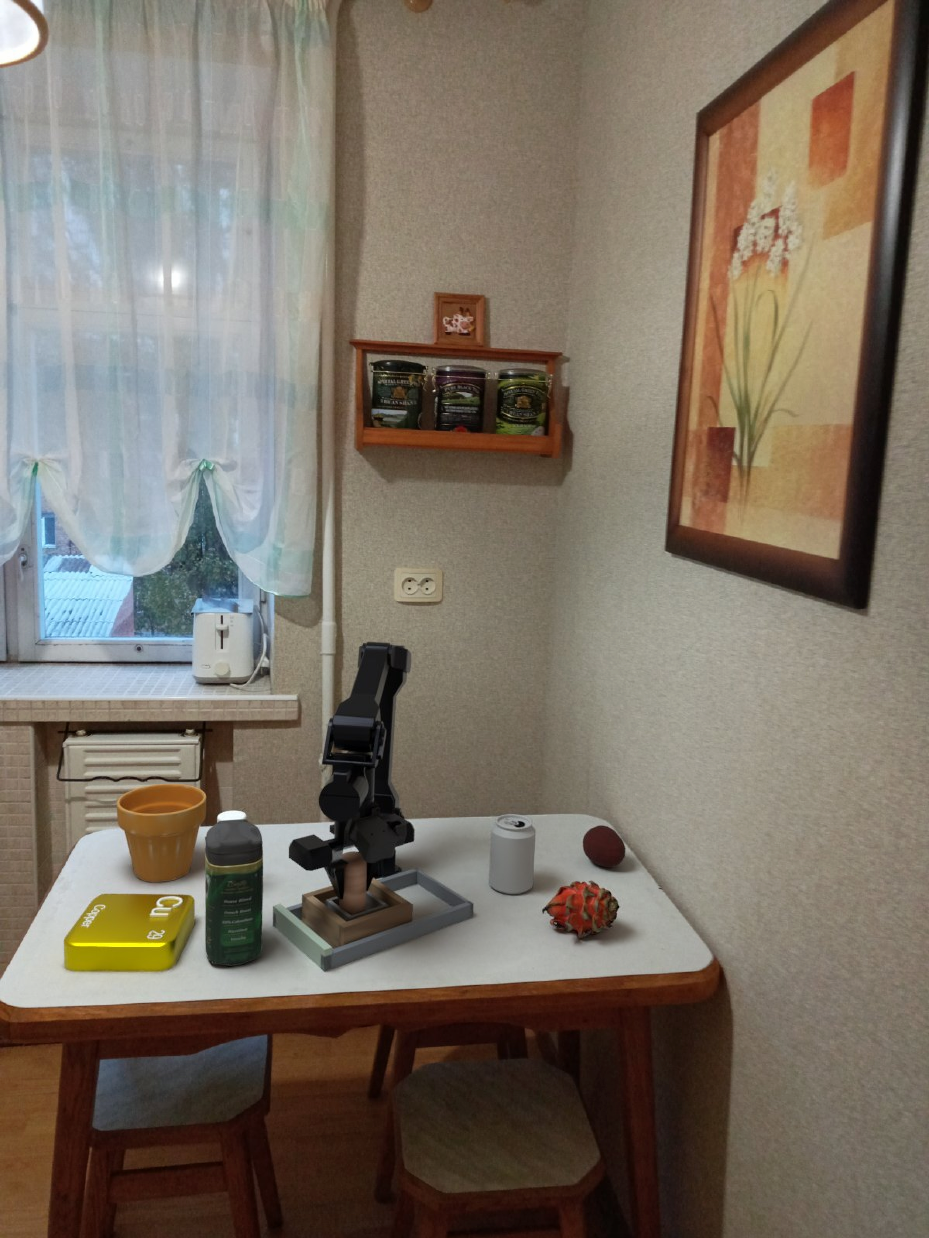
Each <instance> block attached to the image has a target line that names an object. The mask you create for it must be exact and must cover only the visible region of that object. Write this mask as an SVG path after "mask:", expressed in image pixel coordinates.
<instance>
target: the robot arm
mask: <svg viewBox="0 0 929 1238" xmlns="http://www.w3.org/2000/svg"><path fill="white" fill-rule="evenodd" d="M357 656H358V657H357V667H356V668H357V669H358V670H357V672H356V676H355V680H354V682H353V686H352V688H351V691H350V695H349V697H348V698H346V699H344V700H343V701H342V702H339V703H338V704H337V707H336V709H335V712H334V714H333V716H332V717H330V718H329V721H328V724H327V729H326V734H325V735H326V736H325V742H324V747H323V748H324V749H323V754H322V760H321V765H322V766H325V765H326V766H332V772H331V773H332V774H331V775H330V777H329V779H328V780H327V781H326V783H325V785H324V786H323V787H322V788H321V790H320V792H319V795H318V806H319V808H320V811H321V813H322V814H323V815H324V816H325V817H326V818H327V819H330V820H331V821H334V822H333V824H330V825H329V833H331V834H332V835H333V838H329V839H326V840H323V839H322V838H320V837H319V836H317V835H316V834H310V835H306V836H303V837H302V836H301V837H297V838H293V839H292V840H291V842H290V844H289V845H288V858H289V860H291V861H292V862H294V863H295V864H296V865H299V866H300V867H301V868H302V869H304V870H305V871H306V872H307V871H309V872H313V871H316V870H320V869H324V870H325V872H326V874H327V877H328V880H329V881H330V884H331V886H333V889H334V891H335V893H336V896H337V897H338V898H339V899H340V900H342V899H343V895H344V868H345V867H346V866H347V865H348V862H347V861H345V860H344V859H343V852H344V850H348V849H351V848H354V847H355V849H356V850H357V852H360V854H361V855H362V857H363V859H364V860H365V861H366V862H367V878H366V892H367V891H368V889H369V887H370V884H371V882H372V879H373V878H375V879H376V880H379V879H382V878H385V877H388V876H392V875H395V874H398V873H401V872H403V868H402V867H401V866H399V865H397V864H396V861H397V859H396V858H397V854H396V853H397V851H396V848H398V847H402V846H404V845H406V844H409V843H414V841H415V830H416V829H415V827H414V825H413V823H412V822H411V821H408V820H407V819H406V817H405V816H404V813H403V808H402V807H400V795H399V793H398V791H397V790H396V787H395V786H394V783H393V782H392V773H393V772H392V771H393V760H394V759H393V757H394V756H393V755H394V743H395V742H394V739H395V723H396V710H397V709H396V707H397V697H398V695H399V693H400V692H401V690H402V689H403V688H404V686H405V684H406V683H407V680H408V679H407V678H408V674H409V673H411V669H412V653H411V651H410V650H409V649H407V648H406V646H405V645H399V644H391V643H390V642H385V641H384V642H382V641H367V642H363V643H362V645H360V646H359V648H358V655H357ZM333 749H334V750H336V751H342V752H334V751H333ZM343 751H346V752H343Z"/></svg>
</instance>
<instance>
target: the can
mask: <svg viewBox="0 0 929 1238" xmlns="http://www.w3.org/2000/svg"><path fill="white" fill-rule="evenodd" d="M494 822H495V823H494V824H492V826H491V829H490V842H489V844H490V846H489V848H490V849H489V864H488V865H489V867H488V868H489V869H488V884H489V886H490V887H491V888H492V889H494V890H495V891H497V892H499V893H501V894H505V895H520V894H523V893H526V892H527V891H529V890H531V889H532V887H533V885H534V870H535V869H534V867H535V853H536V850H535V849H536V836H537V835H536V834H537V831H536V828H535V827H534V826H533V820H531V818H529V817H527V816H525V815H522V814H517V813H516V814H515V813H508V814H507V813H506V814H502V815H500V816H499V815H498V816H497V817H496V818H495V821H494Z"/></svg>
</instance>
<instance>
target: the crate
mask: <svg viewBox="0 0 929 1238" xmlns="http://www.w3.org/2000/svg"><path fill="white" fill-rule="evenodd" d="M378 880H379V879H375V878H373V879H372V882H371V884H370V887H369V889H368V891H367V892H366V911H363V912H360V913H357V914H354V915H350V914H348V913H347V912H346V911H345V910H343V909H342V908H341V907H339V898H338V897H337V896H336V893H335V891H334V889H333V886H332V885H329V886H327V887H326V886H325V887H323V888H320V889H316V890H313V891H309V892H306V893H303V894H301V903H302V920H301V921H302V922H303V923H304V924H305V925H306V926H308V927H309V928H310V929H311V930H312V931H313V932H315V933H316V934H317V935H318V936H319V937H321V938H322V939H323V940H324V941H325V942H326V943H328V944H329V945H330V946H331V947H332V949H335V948H338V947H341V946H343V945H346V944H349V943H352V942H355V941H358V940H360V939H363V938H366V937H369V936H372V935H375V934H377V933H380V932H383V931H386V930H389V929H392V928H395V927H397V926H400V925H403V924H406V923H409V922H412V921H413V914H414V913H413V912H414V911H413V910H414V909H413V908H414V904H413V903H411V902H410V901H408V900H407V899H406V898H404V897H402V896H401V895H400V894H398V893H397V892H395V891H392V890H391V889H389V888H388V887H386V886H385V885H384V884H382V883H381V882H379V881H378Z"/></svg>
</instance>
